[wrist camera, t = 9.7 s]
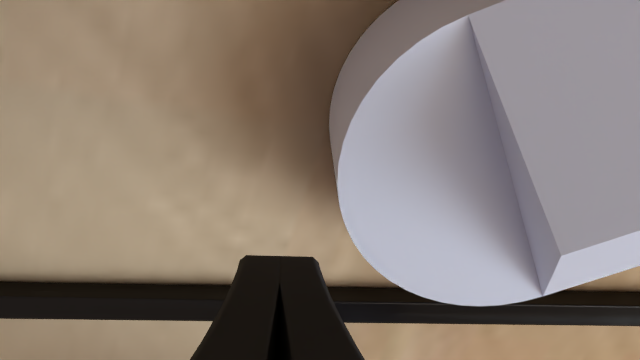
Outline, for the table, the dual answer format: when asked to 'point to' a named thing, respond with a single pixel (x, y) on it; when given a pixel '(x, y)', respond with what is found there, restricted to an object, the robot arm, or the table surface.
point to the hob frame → (349, 302)
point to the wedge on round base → (492, 146)
